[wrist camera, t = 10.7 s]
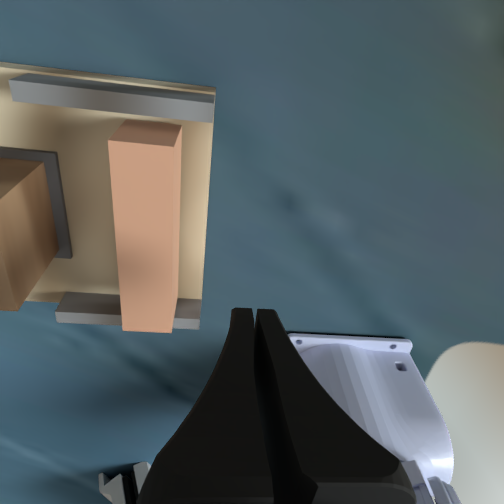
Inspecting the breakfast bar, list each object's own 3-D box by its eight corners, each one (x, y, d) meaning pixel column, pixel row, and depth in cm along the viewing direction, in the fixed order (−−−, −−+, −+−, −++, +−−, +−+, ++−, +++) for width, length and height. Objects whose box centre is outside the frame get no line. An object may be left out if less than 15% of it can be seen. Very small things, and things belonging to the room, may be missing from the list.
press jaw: (181, 125, 18) (173, 147, 15) (177, 294, 23) (171, 333, 20) (126, 119, 17) (107, 140, 15) (135, 291, 23) (122, 330, 20)
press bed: (215, 87, 18) (211, 120, 13) (201, 298, 25) (195, 374, 20) (-156, 43, 17) (-331, 61, 11) (-62, 282, 24) (-144, 361, 18)
